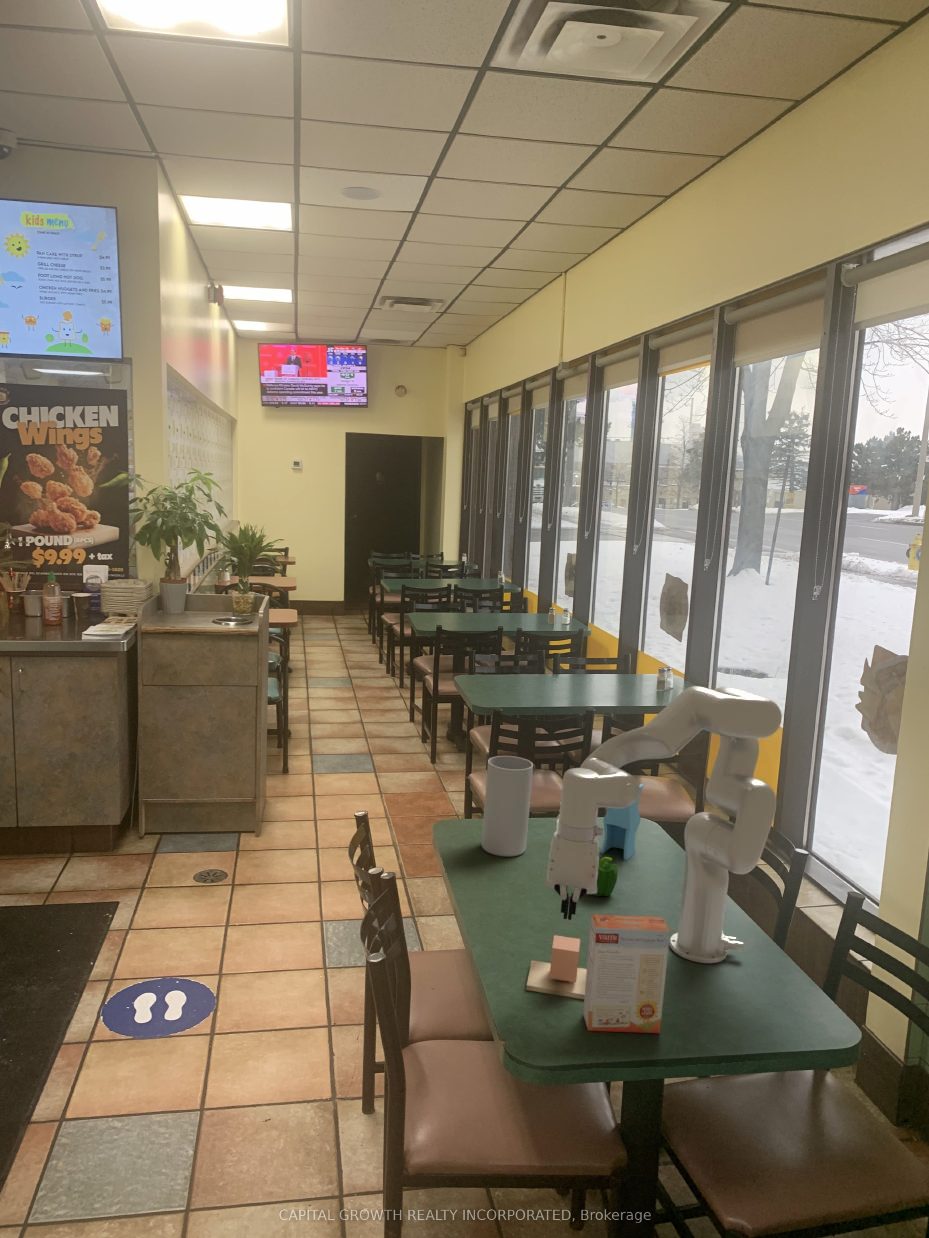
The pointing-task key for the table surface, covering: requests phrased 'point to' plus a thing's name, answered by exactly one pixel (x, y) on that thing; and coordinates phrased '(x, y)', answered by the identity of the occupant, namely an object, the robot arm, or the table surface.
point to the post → (555, 981)
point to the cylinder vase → (507, 805)
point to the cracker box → (626, 973)
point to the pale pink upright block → (564, 958)
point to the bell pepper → (606, 877)
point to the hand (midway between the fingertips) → (567, 916)
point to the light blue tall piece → (622, 828)
